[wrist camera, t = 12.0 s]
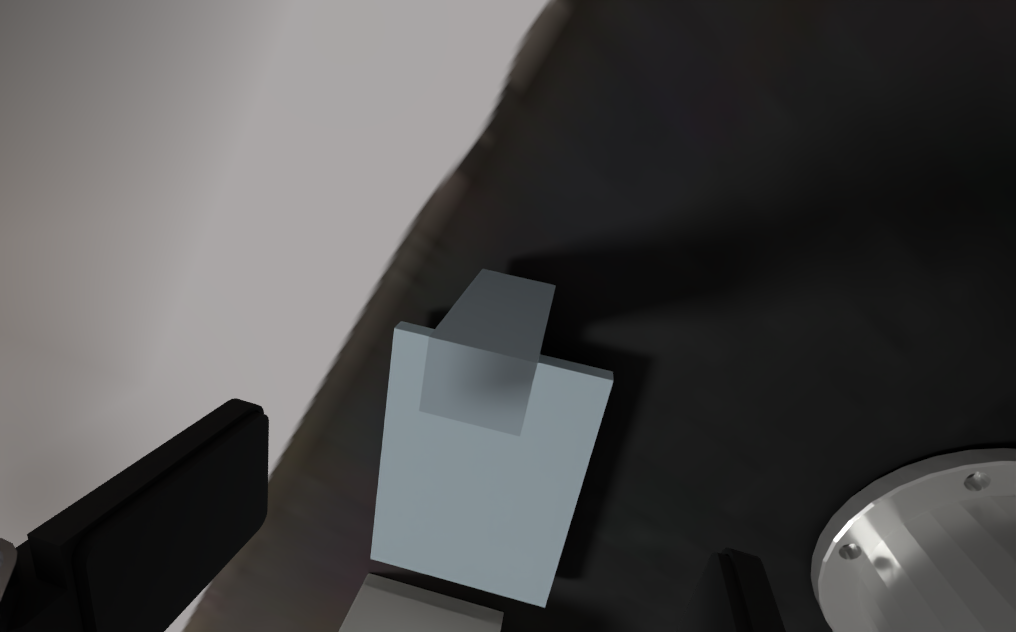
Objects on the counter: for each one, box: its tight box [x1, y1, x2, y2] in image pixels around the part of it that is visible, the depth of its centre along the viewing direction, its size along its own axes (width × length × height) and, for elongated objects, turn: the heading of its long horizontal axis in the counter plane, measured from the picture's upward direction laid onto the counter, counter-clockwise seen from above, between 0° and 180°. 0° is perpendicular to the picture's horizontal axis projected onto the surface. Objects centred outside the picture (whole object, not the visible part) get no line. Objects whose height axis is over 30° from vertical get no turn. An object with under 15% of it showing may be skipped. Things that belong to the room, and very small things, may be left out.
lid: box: [370, 269, 613, 608], centre depth 20 cm, size 9×16×8 cm, turn 169°
